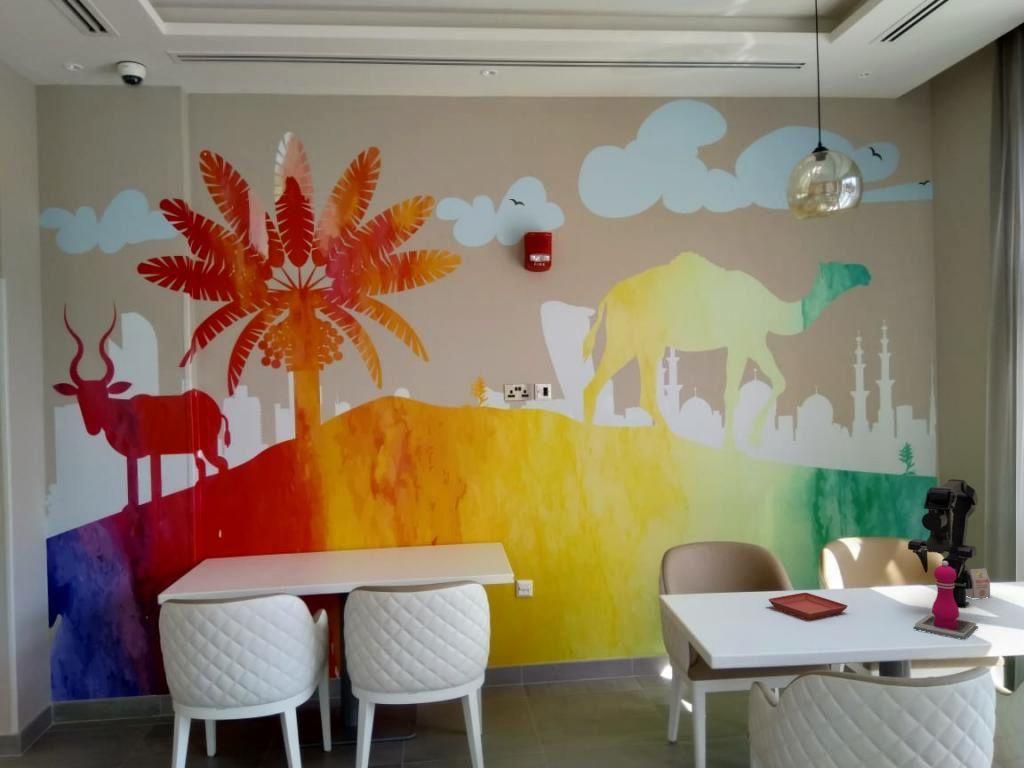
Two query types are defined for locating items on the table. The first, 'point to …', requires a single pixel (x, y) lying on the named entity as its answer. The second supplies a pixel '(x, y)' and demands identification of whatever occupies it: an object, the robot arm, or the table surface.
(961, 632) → the silver dock
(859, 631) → the table surface
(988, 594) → the tea bag
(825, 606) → the plant saucer
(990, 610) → the table surface
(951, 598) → the pepper mill
